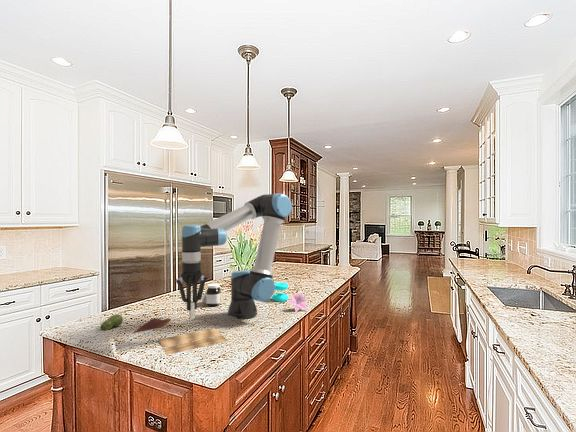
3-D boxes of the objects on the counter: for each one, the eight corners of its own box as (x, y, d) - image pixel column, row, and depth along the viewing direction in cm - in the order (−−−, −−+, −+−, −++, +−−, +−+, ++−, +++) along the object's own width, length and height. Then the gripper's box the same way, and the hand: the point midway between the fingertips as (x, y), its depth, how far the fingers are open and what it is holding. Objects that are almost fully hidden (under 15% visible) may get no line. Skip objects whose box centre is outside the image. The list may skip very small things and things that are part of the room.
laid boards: (222, 338, 138) (222, 335, 138) (228, 343, 132) (228, 340, 132) (162, 351, 125) (162, 347, 125) (167, 357, 119) (167, 354, 119)
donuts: (286, 281, 205) (290, 285, 195) (286, 297, 205) (290, 301, 195) (270, 282, 202) (273, 285, 193) (270, 298, 203) (273, 302, 193)
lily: (283, 313, 175) (289, 300, 171) (286, 299, 186) (291, 286, 182) (304, 320, 176) (310, 306, 172) (305, 306, 186) (311, 293, 183)
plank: (162, 350, 125) (162, 347, 125) (158, 342, 132) (158, 339, 132) (221, 337, 138) (221, 334, 138) (214, 330, 145) (214, 327, 145)
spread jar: (218, 307, 183) (218, 286, 183) (198, 307, 183) (198, 286, 183) (222, 301, 195) (222, 282, 195) (204, 301, 195) (204, 282, 195)
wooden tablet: (152, 320, 162) (152, 317, 162) (172, 321, 161) (172, 317, 161) (121, 341, 136) (121, 337, 136) (144, 341, 135) (144, 337, 135)
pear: (124, 313, 153) (105, 323, 144) (126, 323, 154) (106, 334, 145) (116, 311, 156) (96, 321, 147) (118, 322, 157) (98, 332, 148)
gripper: (203, 259, 143) (204, 312, 143) (173, 261, 136) (173, 317, 136) (209, 261, 137) (209, 317, 137) (177, 264, 129) (178, 323, 130)
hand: (191, 317), depth 136 cm, fingers closed
